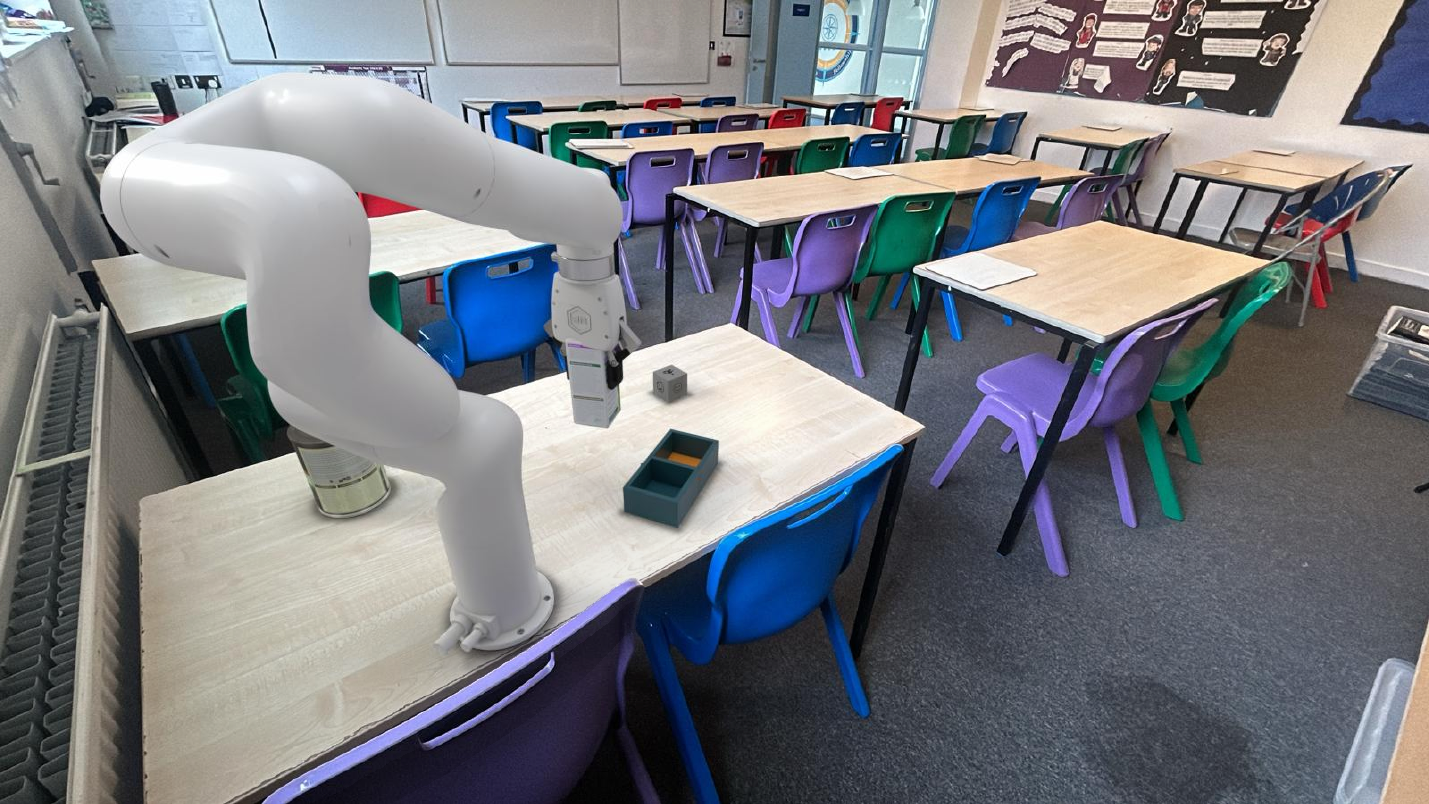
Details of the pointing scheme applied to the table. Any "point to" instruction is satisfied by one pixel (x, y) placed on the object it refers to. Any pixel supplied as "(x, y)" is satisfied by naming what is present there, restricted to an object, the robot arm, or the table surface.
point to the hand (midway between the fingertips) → (594, 380)
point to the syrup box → (591, 386)
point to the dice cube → (669, 383)
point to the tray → (671, 477)
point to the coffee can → (339, 476)
